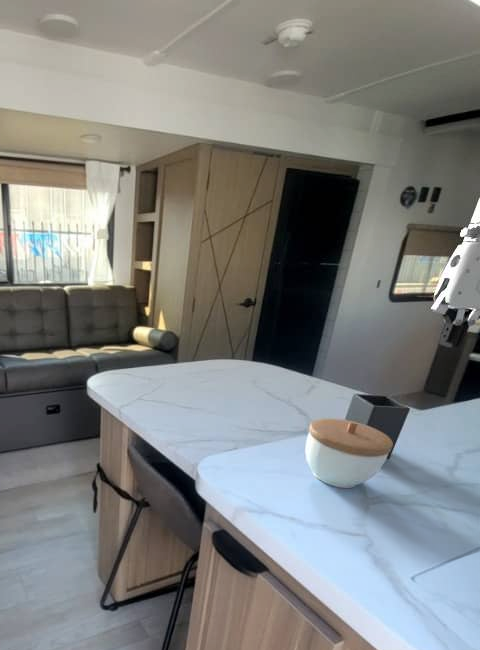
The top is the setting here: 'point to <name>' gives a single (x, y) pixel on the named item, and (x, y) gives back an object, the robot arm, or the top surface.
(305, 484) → the top surface
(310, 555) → the top surface
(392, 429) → the dark grey brick
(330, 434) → the lidded bowl
